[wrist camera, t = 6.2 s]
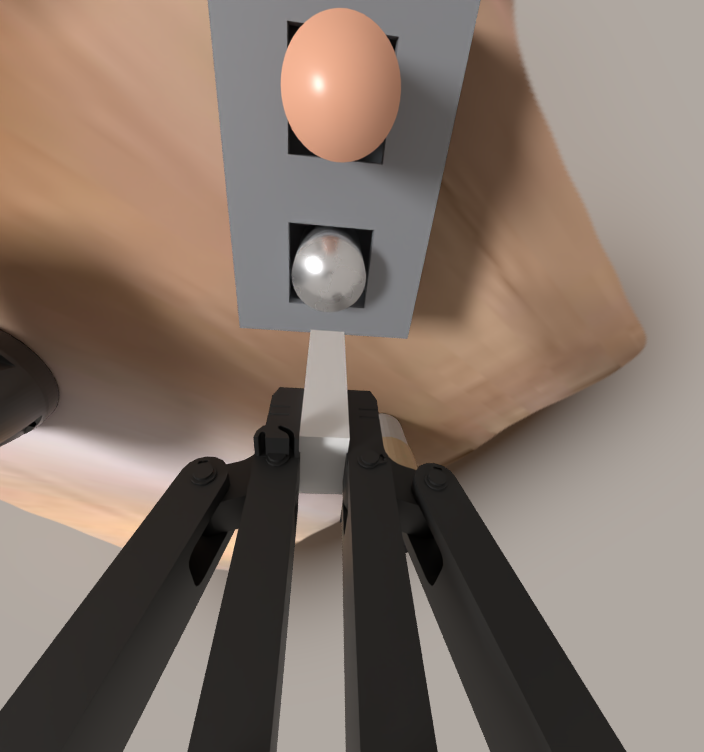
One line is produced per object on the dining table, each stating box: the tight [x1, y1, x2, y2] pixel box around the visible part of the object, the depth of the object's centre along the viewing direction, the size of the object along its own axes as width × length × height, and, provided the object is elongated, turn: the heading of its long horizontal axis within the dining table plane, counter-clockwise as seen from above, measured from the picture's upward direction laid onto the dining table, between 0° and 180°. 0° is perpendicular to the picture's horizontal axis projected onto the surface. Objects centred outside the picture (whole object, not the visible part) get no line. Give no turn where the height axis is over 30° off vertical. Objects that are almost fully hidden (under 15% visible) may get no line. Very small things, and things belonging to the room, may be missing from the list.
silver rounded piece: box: [292, 224, 366, 312], centre depth 28 cm, size 5×5×7 cm
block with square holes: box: [208, 0, 480, 339], centre depth 27 cm, size 21×14×8 cm, turn 174°
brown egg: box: [281, 8, 401, 162], centre depth 18 cm, size 5×5×7 cm
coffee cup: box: [379, 413, 418, 553], centre depth 42 cm, size 9×9×15 cm
